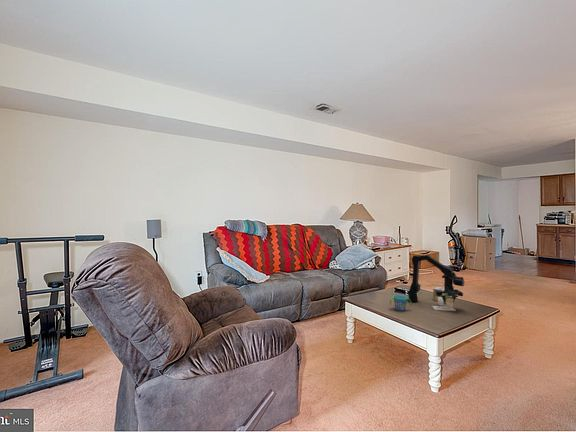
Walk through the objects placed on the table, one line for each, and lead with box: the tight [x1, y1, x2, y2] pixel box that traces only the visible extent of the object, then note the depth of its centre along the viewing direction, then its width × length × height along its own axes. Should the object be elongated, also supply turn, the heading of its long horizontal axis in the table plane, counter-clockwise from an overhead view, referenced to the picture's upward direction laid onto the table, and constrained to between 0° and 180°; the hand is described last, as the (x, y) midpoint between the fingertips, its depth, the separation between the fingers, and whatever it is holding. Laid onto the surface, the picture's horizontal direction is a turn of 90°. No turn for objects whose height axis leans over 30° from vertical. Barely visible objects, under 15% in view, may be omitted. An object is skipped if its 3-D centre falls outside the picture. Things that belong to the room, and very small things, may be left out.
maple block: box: [444, 296, 454, 307], centre depth 218 cm, size 5×5×6 cm
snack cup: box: [389, 294, 412, 312], centre depth 218 cm, size 16×10×10 cm
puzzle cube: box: [432, 286, 451, 303], centre depth 239 cm, size 10×10×10 cm
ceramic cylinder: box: [437, 297, 445, 307], centre depth 227 cm, size 4×4×6 cm
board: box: [431, 305, 457, 312], centre depth 218 cm, size 15×8×1 cm, turn 80°
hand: (448, 303), depth 218 cm, fingers closed on maple block, 5 cm apart
